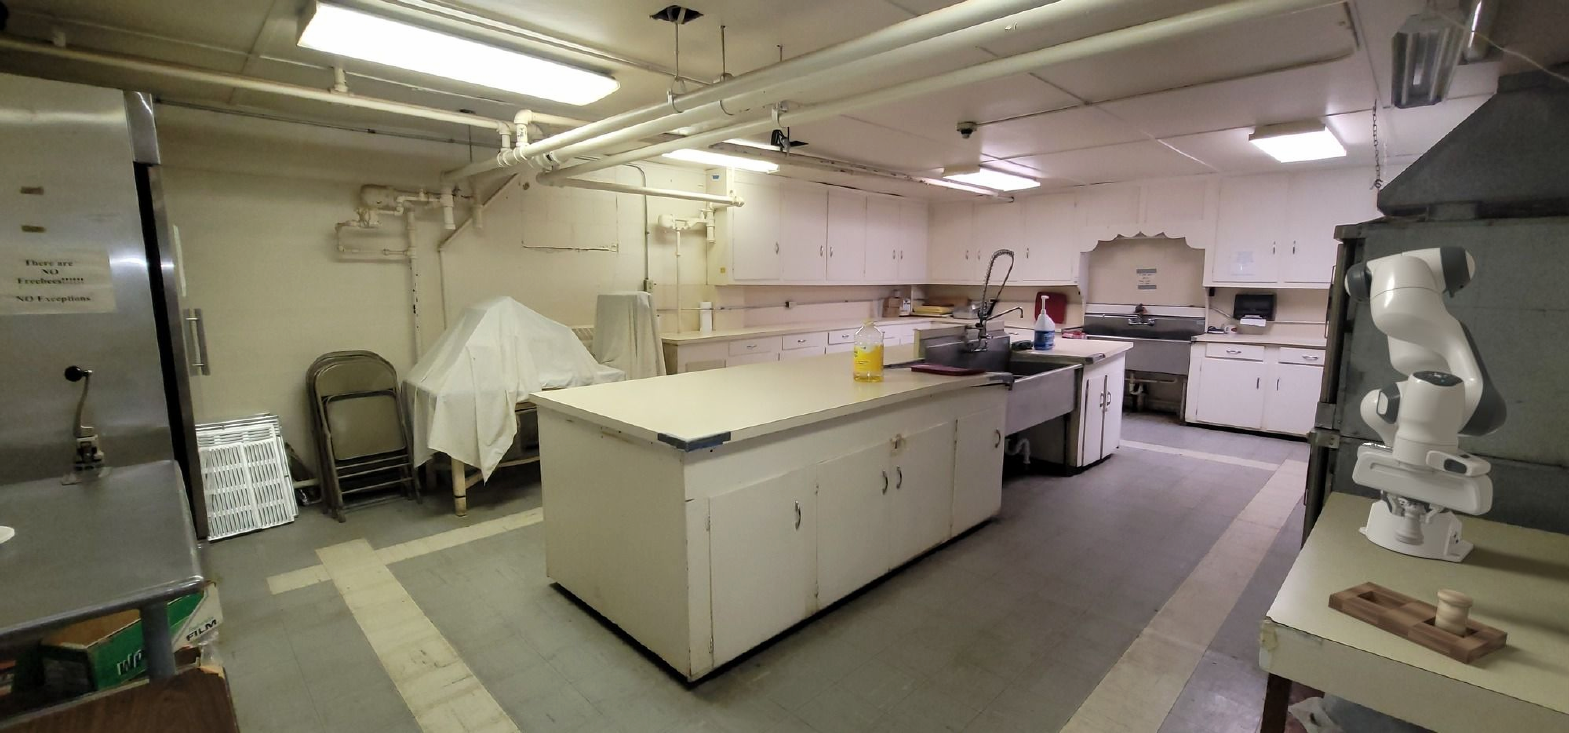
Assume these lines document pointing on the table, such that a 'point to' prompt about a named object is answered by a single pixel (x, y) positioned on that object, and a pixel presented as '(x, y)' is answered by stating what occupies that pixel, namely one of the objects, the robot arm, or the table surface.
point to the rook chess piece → (1411, 525)
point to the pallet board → (1422, 620)
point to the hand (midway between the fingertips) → (1411, 519)
